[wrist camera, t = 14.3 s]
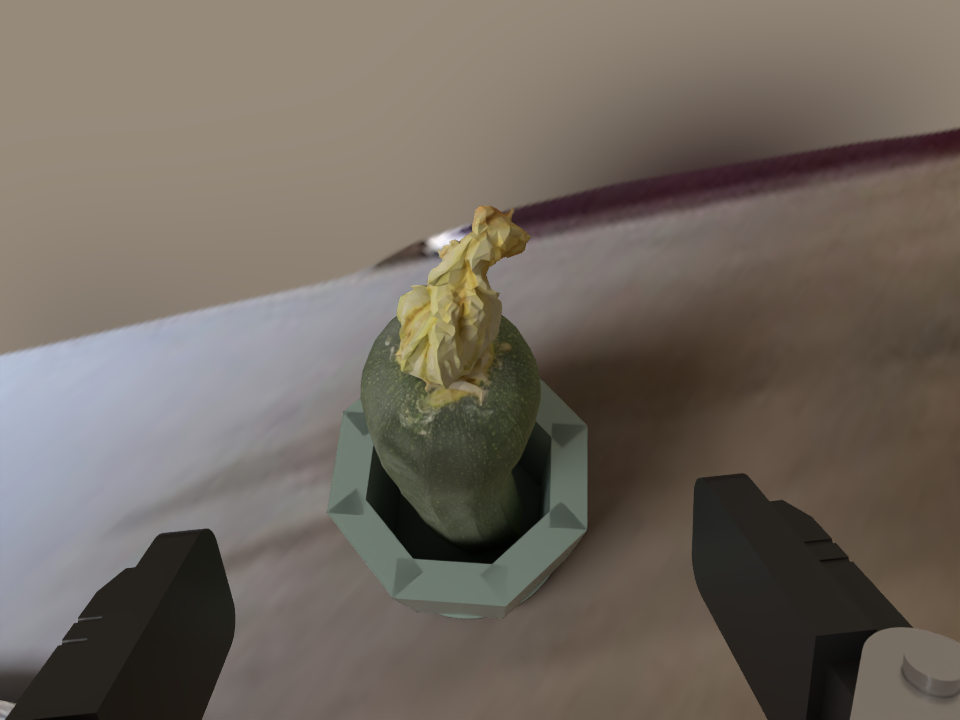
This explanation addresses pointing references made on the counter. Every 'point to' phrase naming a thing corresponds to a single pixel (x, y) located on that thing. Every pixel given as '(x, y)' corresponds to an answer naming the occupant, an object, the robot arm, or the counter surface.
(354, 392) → the counter surface
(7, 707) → the ceramic plate
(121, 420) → the counter surface
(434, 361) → the vegetable
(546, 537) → the crock
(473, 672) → the counter surface
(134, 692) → the robot arm
